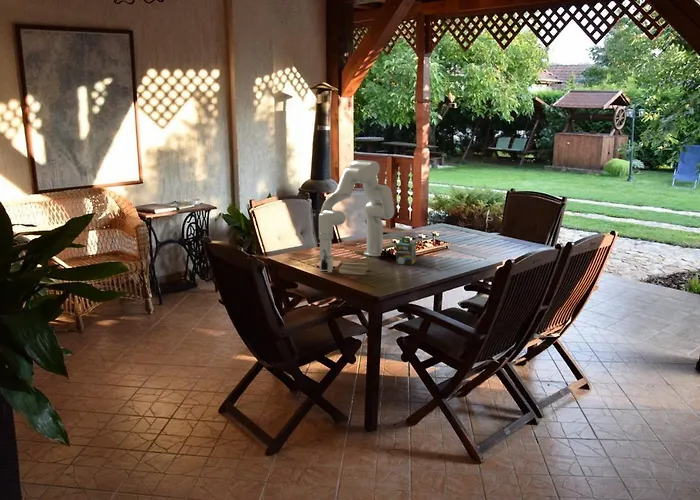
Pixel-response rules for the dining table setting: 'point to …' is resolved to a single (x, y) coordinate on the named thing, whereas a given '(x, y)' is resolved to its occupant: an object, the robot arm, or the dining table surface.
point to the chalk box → (406, 252)
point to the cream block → (329, 264)
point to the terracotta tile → (335, 263)
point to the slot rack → (353, 268)
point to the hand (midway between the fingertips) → (326, 267)
